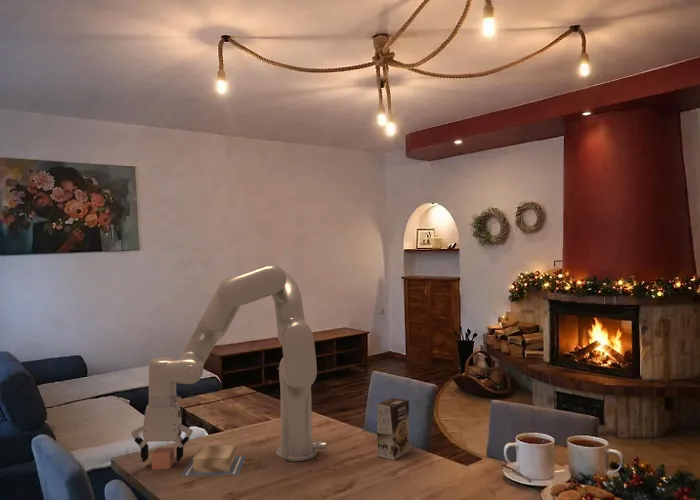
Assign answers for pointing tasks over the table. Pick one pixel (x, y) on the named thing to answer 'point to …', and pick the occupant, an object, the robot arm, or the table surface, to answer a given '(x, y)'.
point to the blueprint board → (233, 471)
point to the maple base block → (214, 459)
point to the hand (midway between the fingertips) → (162, 459)
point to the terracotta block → (163, 458)
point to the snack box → (392, 428)
